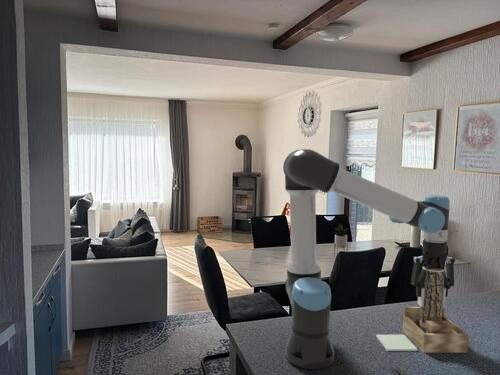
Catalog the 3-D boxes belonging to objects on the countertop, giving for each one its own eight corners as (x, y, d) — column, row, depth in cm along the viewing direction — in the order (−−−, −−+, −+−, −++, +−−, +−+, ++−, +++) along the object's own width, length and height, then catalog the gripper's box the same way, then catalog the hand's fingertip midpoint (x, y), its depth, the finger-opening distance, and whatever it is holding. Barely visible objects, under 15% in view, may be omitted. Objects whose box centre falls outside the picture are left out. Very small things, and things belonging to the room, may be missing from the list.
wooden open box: (423, 352, 120) (424, 325, 119) (402, 330, 135) (403, 306, 134) (467, 352, 121) (469, 325, 120) (442, 330, 136) (443, 306, 135)
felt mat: (387, 351, 121) (387, 349, 121) (375, 336, 131) (375, 334, 131) (417, 351, 121) (417, 349, 121) (403, 336, 131) (403, 334, 131)
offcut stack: (426, 350, 122) (428, 326, 121) (420, 344, 126) (422, 320, 125) (459, 350, 122) (461, 326, 121) (452, 344, 126) (454, 320, 125)
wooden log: (442, 343, 127) (447, 271, 125) (421, 340, 128) (425, 269, 126) (436, 333, 133) (441, 265, 131) (416, 331, 135) (420, 264, 133)
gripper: (411, 242, 124) (408, 309, 126) (469, 243, 124) (465, 309, 126) (401, 237, 131) (398, 301, 133) (456, 238, 132) (452, 301, 134)
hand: (431, 305), depth 130 cm, fingers closed on wooden log, 7 cm apart
